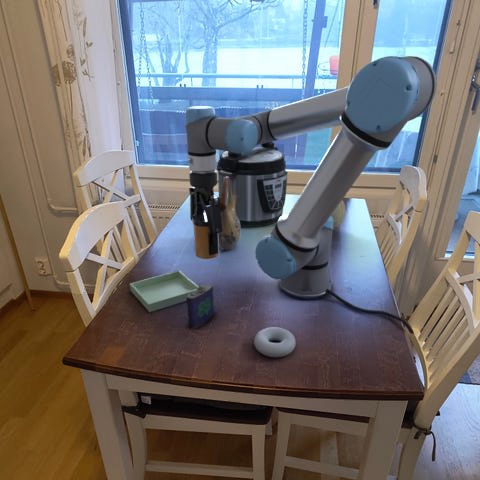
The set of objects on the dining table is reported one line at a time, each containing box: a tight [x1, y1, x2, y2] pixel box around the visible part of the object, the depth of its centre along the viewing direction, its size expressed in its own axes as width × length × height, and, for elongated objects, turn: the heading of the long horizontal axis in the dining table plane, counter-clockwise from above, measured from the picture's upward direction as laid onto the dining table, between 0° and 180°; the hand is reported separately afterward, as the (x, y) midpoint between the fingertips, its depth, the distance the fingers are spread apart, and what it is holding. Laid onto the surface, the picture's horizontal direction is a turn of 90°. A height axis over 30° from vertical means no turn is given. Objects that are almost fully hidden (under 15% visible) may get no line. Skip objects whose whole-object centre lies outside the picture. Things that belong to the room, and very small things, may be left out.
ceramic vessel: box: [219, 177, 242, 251], centre depth 146 cm, size 16×9×25 cm, turn 166°
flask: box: [186, 283, 215, 329], centre depth 109 cm, size 9×3×11 cm, turn 144°
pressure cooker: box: [216, 141, 288, 227], centre depth 170 cm, size 30×28×32 cm
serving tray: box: [129, 269, 199, 313], centre depth 124 cm, size 14×16×2 cm
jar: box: [191, 212, 220, 260], centre depth 124 cm, size 8×8×12 cm
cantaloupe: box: [331, 199, 347, 231], centre depth 163 cm, size 15×15×15 cm
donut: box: [253, 326, 296, 358], centre depth 101 cm, size 10×4×10 cm
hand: (207, 249), depth 127 cm, fingers closed on jar, 7 cm apart
